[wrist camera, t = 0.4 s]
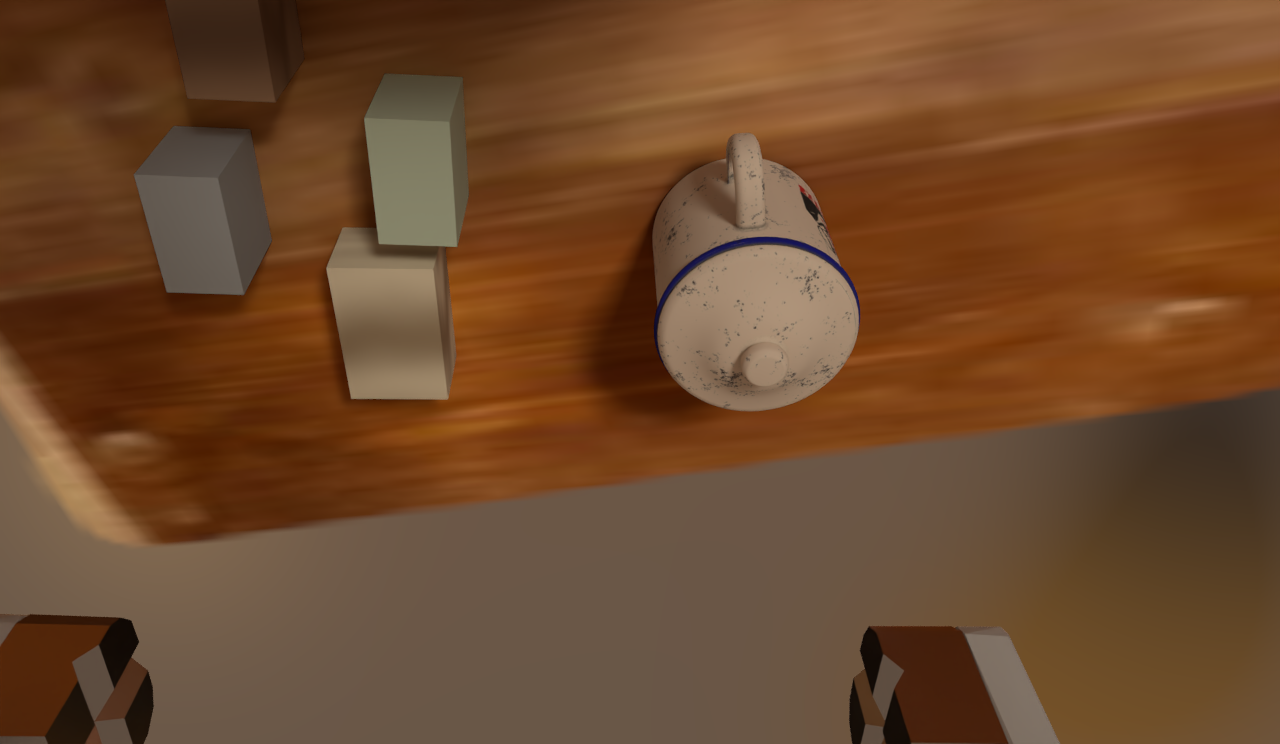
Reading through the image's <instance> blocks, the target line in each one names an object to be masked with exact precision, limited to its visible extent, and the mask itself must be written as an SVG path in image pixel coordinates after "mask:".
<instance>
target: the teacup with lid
mask: <svg viewBox="0 0 1280 744" xmlns="http://www.w3.org/2000/svg"><path fill="white" fill-rule="evenodd" d="M652 240H653V255H654V268H655V281H656V294H657V310H656V315H655V321H654V338H655V344H656V348H657V351H658V354H659V357H660V359H661V361H662V363H663V365H664V366H665V368H666V369H667V371H668V372H669V373H670V375H671V376H672V377H673V379H674V380H675V381H676V382H677V383H678V384H679V385H680V386H681V387H682V388H683V389H685V390H686V391H687V392H689V393H690V394H692V395H693V396H695V397H697V398H698V399H700V400H702V401H704V402H706V403H709V404H711V405H714V406H717V407H721V408H725V409H730V410H738V411H762V410H770V409H775V408H779V407H783V406H786V405H789V404H792V403H795V402H797V401H799V400H802V399H804V398H806V397H808V396H809V395H811V394H813V393H814V392H816V391H817V390H819V389H820V388H822V387H823V386H824V385H826V384H827V383H828V382H829V381H830V380H831V379H832V378H833V377H834V376H835V375H836V374H837V373H838V372H839V370H840V369H841V368H842V366H843V365H844V364H845V362H846V360H847V359H848V357H849V356H850V354H851V351H852V349H853V347H854V344H855V342H856V338H857V334H858V329H859V323H860V306H859V300H858V296H857V293H856V290H855V287H854V285H853V283H852V281H851V279H850V278H849V276H848V275H847V273H846V272H845V271H844V269H843V268H842V267H841V265H840V262H839V259H838V257H837V254H836V251H835V248H834V245H833V243H832V240H831V237H830V234H829V232H828V229H827V226H826V223H825V220H824V218H823V215H822V212H821V209H820V206H819V204H818V201H817V199H816V197H815V195H814V194H813V192H812V191H811V189H810V188H809V186H808V185H807V184H806V183H805V182H804V181H803V180H802V179H801V178H800V177H799V176H798V175H797V174H795V173H794V172H792V171H791V170H789V169H788V168H786V167H784V166H782V165H780V164H778V163H775V162H772V161H769V160H765V159H762V155H761V150H760V146H759V143H758V141H757V139H756V137H755V136H754V135H753V134H751V133H738V134H734V135H732V136H731V137H730V138H729V140H728V142H727V148H726V159H722V160H718V161H715V162H712V163H709V164H706V165H704V166H702V167H700V168H698V169H696V170H694V171H693V172H691V173H690V174H688V175H687V176H685V177H684V178H683V179H682V180H680V181H679V182H678V183H677V184H676V185H675V186H674V187H673V188H672V189H671V191H670V192H669V193H668V194H667V196H666V197H665V199H664V200H663V202H662V204H661V206H660V207H659V210H658V212H657V215H656V218H655V222H654V227H653V236H652Z"/></svg>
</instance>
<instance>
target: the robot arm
mask: <svg viewBox="0 0 1280 744" xmlns="http://www.w3.org/2000/svg"><path fill="white" fill-rule="evenodd" d="M138 643H139V640H138V638H137V635H136V632H135V629H134V627H133V624H132V621H131V620H128V619H124V618H116V617H88V616H62V615H33V614H30V615H13V614H0V744H144V742H145V739H146V737H147V735H148V731H149V726H150V721H151V717H152V712H153V707H154V705H153V687H152V683H151V679H150V676H149V672H148V670H146V669H145V668H144V667H142V666H141V665H140V664H139V663H138V662H136V661H135V660H134V659H132V658H131V657H132V655H133V653H134V651H135V649H136V647H137V645H138ZM860 653H861V656H862V660H863V663H864V667H865V669H864V670H862V671H861V672H860V673H859V674H858V675H856V676H855V677H854V678H853V683H852V689H851V694H850V703H849V704H850V705H849V706H850V707H849V710H850V711H849V724H850V732H851V739H852V744H1060V743H1059V741H1058V739H1057V737H1056V735H1055V732H1054V730H1053V728H1052V726H1051V724H1050V722H1049V720H1048V718H1047V715H1046V713H1045V711H1044V709H1043V707H1042V705H1041V703H1040V701H1039V698H1038V696H1037V694H1036V692H1035V690H1034V688H1033V686H1032V684H1031V682H1030V679H1029V677H1028V675H1027V673H1026V671H1025V669H1024V667H1023V665H1022V662H1021V660H1020V658H1019V656H1018V654H1017V652H1016V650H1015V648H1014V645H1013V643H1012V641H1011V639H1010V637H1009V635H1008V633H1006V632H1005V631H1004V630H1003V629H1002V628H1001V627H955V628H954V627H951V626H944V627H943V626H941V627H940V626H939V627H938V626H926V627H925V626H869V627H868V629H867V630H866V632H865V633H864V635H863V640H862V644H861V648H860Z"/></svg>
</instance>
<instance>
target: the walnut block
mask: <svg viewBox="0 0 1280 744" xmlns="http://www.w3.org/2000/svg"><path fill="white" fill-rule="evenodd" d="M165 2H166V7H167V11H168V15H169V20H170V24H171V29H172V33H173V37H174V42H175V46H176V50H177V55H178V59H179V63H180V68H181V72H182V76H183V81H184V85H185V90H186V94H187V98H188V99H208V100H230V101H252V102H274V103H275V102H276V101H277V99H278V98H279V96H280V95H281V93H282V92H283V90H284V89H285V87H286V86H287V84H288V83H289V81H290V80H291V78H292V77H293V75H294V74H295V72H296V71H297V69H298V68H299V66H300V65H301V63H302V62H303V60H304V52H303V46H302V39H301V32H300V26H299V19H298V13H297V6H296V0H165Z"/></svg>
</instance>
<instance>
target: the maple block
mask: <svg viewBox="0 0 1280 744" xmlns="http://www.w3.org/2000/svg"><path fill="white" fill-rule="evenodd" d="M326 269H327V275H328V280H329V285H330V290H331V295H332V301H333V306H334V311H335V316H336V321H337V327H338V332H339V337H340V342H341V348H342V353H343V358H344V363H345V368H346V374H347V379H348V384H349V389H350V395H351V399H448V397H449V391H450V386H451V381H452V376H453V371H454V365H455V360H456V348H455V338H454V328H453V318H452V308H451V299H450V289H449V279H448V269H447V259H446V250H445V246H420V245H392V244H379V241H378V232H377V228H343V229H342V231H341V233H340V236H339V238H338V241H337V243H336V246H335V248H334V250H333V253H332V255H331V258H330V260H329V263H328V265H327V267H326Z"/></svg>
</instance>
